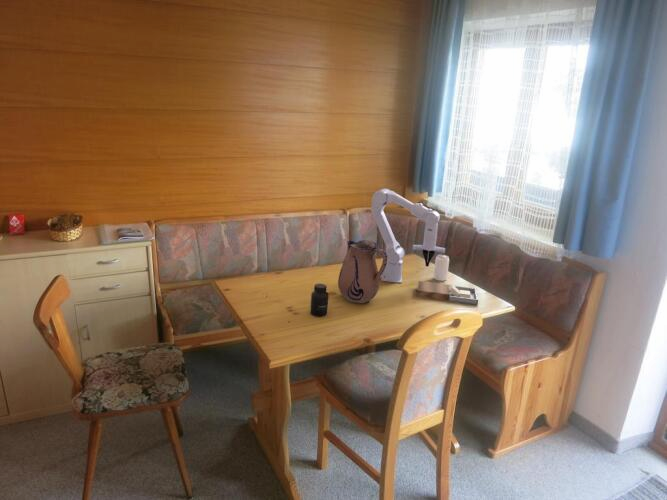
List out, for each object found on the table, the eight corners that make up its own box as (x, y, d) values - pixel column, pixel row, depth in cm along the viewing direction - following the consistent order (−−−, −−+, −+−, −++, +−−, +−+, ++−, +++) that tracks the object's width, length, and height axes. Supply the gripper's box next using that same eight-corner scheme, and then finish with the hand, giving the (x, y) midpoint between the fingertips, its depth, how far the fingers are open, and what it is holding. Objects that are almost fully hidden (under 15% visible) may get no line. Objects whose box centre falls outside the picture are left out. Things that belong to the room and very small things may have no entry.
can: (447, 281, 235) (450, 258, 231) (434, 280, 235) (437, 257, 231) (445, 276, 241) (448, 254, 237) (432, 276, 241) (434, 253, 238)
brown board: (416, 296, 215) (417, 290, 214) (418, 287, 226) (418, 281, 225) (449, 300, 212) (449, 294, 211) (448, 290, 223) (449, 284, 222)
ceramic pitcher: (347, 288, 219) (350, 235, 212) (391, 298, 211) (396, 243, 203) (330, 301, 204) (333, 245, 197) (376, 313, 196) (381, 254, 188)
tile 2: (470, 294, 213) (469, 298, 214) (469, 291, 217) (469, 295, 218) (459, 293, 214) (459, 297, 214) (459, 289, 218) (459, 293, 219)
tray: (449, 301, 211) (449, 296, 210) (448, 290, 224) (449, 285, 223) (477, 305, 209) (478, 299, 208) (475, 293, 222) (476, 288, 221)
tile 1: (448, 290, 215) (452, 287, 214) (448, 286, 219) (451, 283, 218) (456, 297, 215) (459, 294, 214) (456, 293, 219) (459, 290, 218)
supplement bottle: (321, 319, 188) (322, 290, 184) (306, 314, 191) (308, 286, 188) (330, 313, 193) (332, 285, 190) (316, 308, 197) (317, 281, 193)
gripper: (413, 238, 219) (410, 266, 223) (446, 241, 216) (442, 270, 220) (414, 234, 225) (411, 261, 229) (446, 237, 223) (442, 265, 227)
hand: (427, 265), depth 225 cm, fingers closed
